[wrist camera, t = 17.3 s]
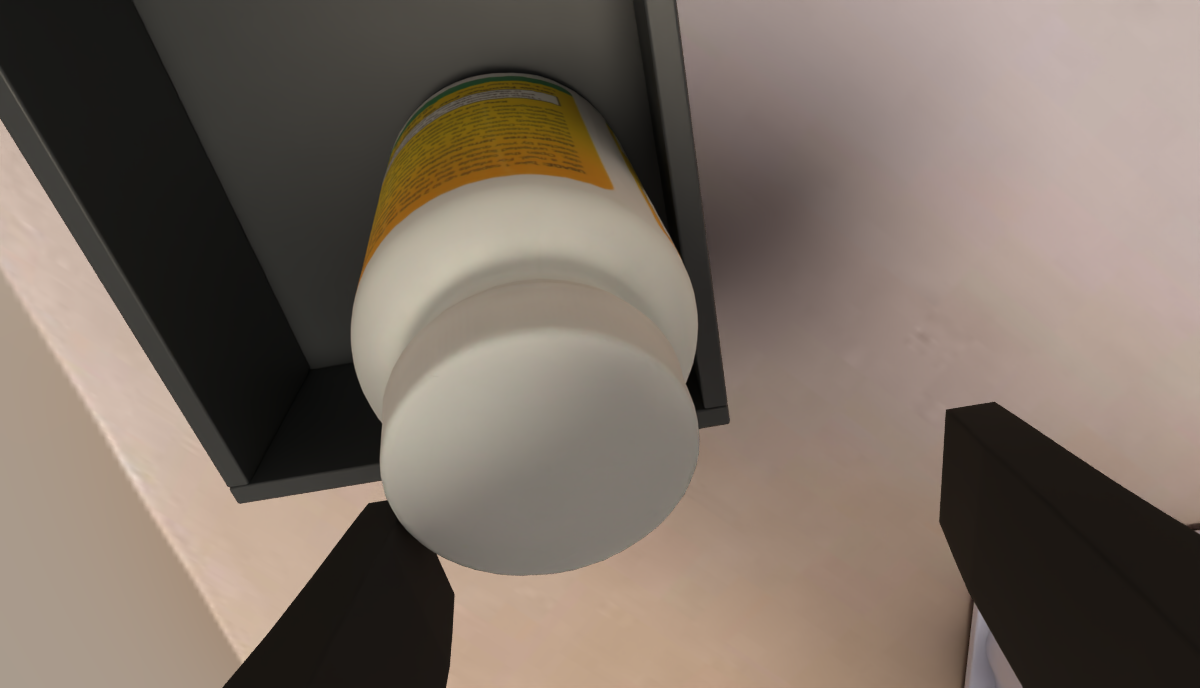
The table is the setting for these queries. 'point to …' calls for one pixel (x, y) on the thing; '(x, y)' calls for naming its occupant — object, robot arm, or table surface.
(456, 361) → the supplement bottle
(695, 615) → the table surface
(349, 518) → the table surface
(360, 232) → the open black bin
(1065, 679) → the robot arm
